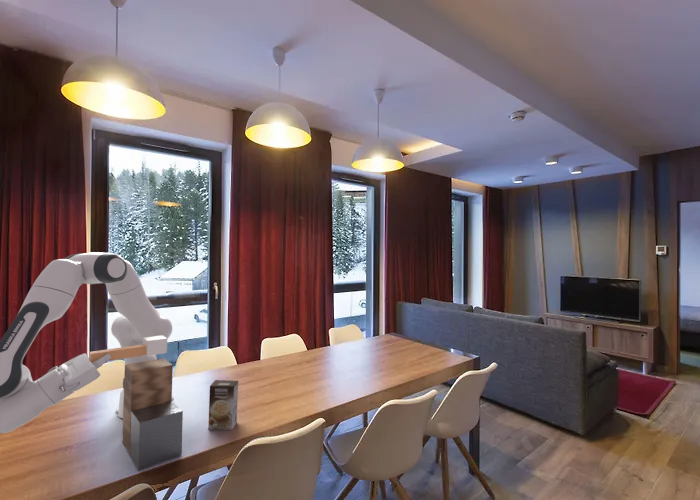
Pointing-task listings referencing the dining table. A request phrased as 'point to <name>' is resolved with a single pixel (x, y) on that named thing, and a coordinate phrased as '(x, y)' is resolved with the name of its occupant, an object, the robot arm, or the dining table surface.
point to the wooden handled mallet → (134, 349)
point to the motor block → (156, 434)
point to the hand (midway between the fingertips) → (108, 353)
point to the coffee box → (223, 405)
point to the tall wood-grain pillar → (145, 389)
